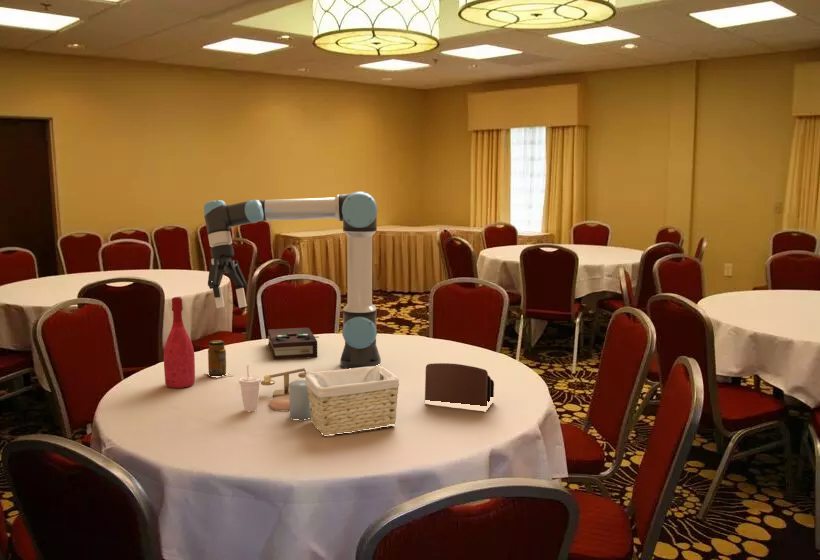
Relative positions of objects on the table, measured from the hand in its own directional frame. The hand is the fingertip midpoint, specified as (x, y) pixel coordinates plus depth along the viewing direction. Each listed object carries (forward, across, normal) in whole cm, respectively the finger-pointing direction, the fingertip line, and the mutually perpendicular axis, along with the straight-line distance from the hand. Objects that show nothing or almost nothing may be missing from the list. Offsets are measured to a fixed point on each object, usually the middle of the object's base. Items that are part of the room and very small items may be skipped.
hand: (232, 307), depth 241 cm
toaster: (+46, -8, +69) cm, 83 cm away
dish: (+35, +11, +20) cm, 42 cm away
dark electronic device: (+17, -49, -7) cm, 53 cm away
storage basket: (+44, +20, +44) cm, 65 cm away
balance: (+32, +2, +16) cm, 36 cm away
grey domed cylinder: (+39, +19, +28) cm, 52 cm away
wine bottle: (+22, +5, -22) cm, 31 cm away
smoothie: (+34, +19, +12) cm, 41 cm away
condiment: (+21, -9, -16) cm, 28 cm away
